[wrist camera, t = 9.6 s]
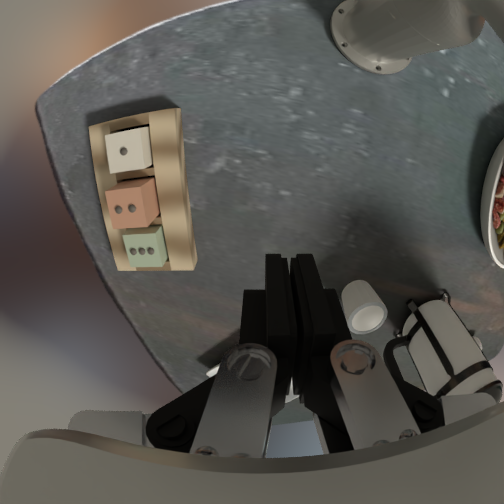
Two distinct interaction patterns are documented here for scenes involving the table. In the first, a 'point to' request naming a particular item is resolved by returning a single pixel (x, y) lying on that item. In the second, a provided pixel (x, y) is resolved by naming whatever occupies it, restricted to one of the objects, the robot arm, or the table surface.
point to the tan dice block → (133, 203)
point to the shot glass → (362, 307)
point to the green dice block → (146, 246)
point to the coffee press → (443, 352)
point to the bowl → (494, 207)
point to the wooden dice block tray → (167, 181)
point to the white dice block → (129, 150)
